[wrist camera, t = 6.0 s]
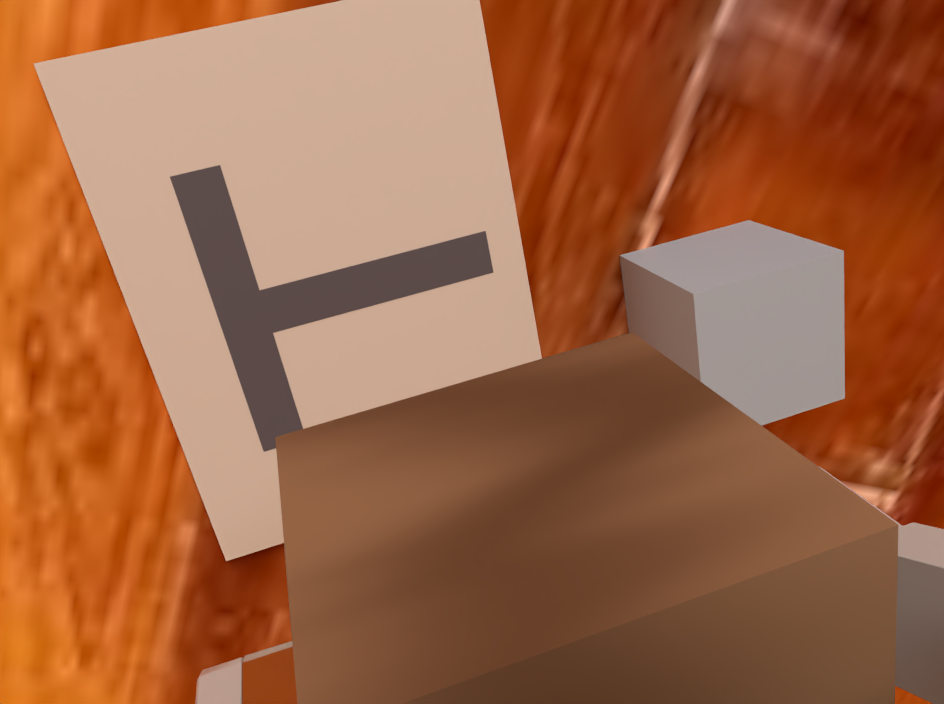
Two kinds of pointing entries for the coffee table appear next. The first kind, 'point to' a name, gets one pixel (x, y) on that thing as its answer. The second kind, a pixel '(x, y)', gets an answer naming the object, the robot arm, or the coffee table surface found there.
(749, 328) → the grey cube
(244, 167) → the letter card
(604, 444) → the walnut block
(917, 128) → the coffee table surface
